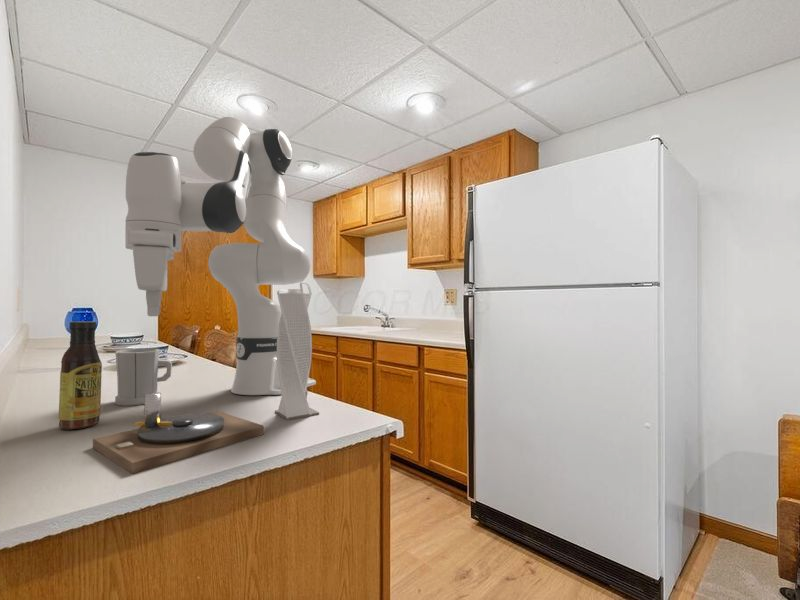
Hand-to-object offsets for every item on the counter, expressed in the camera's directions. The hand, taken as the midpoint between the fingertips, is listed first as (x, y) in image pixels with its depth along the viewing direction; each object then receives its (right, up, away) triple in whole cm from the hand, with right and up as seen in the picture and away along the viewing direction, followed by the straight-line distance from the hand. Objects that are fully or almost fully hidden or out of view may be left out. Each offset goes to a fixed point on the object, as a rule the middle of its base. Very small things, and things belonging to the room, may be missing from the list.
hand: (153, 315), depth 75 cm
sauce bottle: (-16, -21, +3) cm, 26 cm away
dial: (+7, -19, -5) cm, 21 cm away
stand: (+8, -21, -5) cm, 23 cm away
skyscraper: (+23, -21, +11) cm, 33 cm away
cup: (-16, -21, +22) cm, 35 cm away
